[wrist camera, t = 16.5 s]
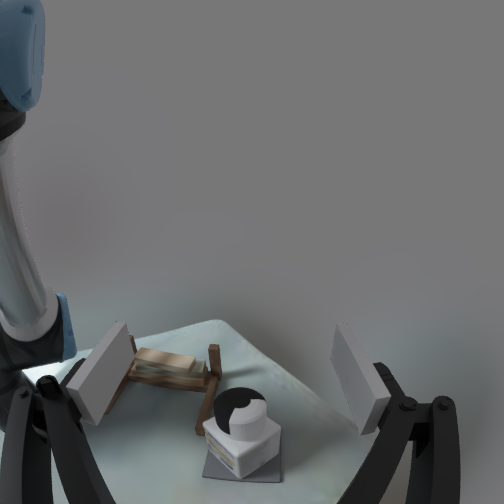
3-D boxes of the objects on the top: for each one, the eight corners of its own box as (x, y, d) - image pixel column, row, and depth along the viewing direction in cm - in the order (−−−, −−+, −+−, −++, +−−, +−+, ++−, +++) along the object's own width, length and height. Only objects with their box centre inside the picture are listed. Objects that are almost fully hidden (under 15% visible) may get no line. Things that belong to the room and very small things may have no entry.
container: (208, 449, 33) (195, 397, 29) (246, 427, 38) (243, 373, 34) (240, 480, 27) (234, 434, 24) (279, 453, 32) (285, 401, 29)
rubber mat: (202, 477, 28) (202, 475, 28) (215, 426, 38) (214, 424, 38) (279, 482, 27) (279, 481, 27) (280, 429, 38) (280, 428, 37)
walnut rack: (100, 412, 38) (86, 381, 36) (134, 363, 54) (126, 334, 52) (205, 436, 36) (199, 406, 34) (222, 374, 52) (219, 344, 50)
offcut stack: (131, 375, 48) (126, 359, 47) (141, 362, 53) (136, 345, 51) (203, 387, 46) (200, 370, 45) (208, 371, 51) (206, 354, 50)
